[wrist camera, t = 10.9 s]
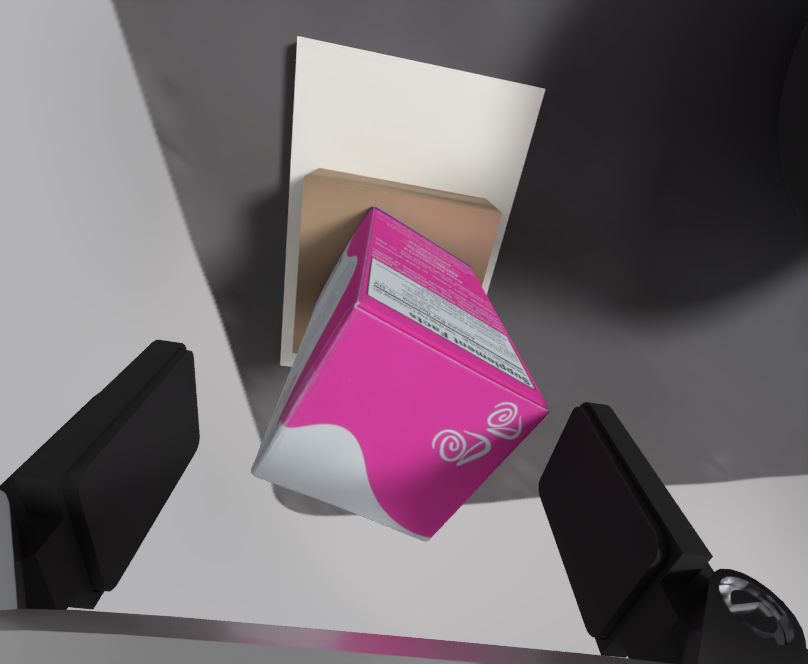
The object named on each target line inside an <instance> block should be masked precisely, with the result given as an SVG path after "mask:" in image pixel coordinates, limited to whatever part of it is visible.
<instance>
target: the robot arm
mask: <svg viewBox="0 0 808 664" xmlns="http://www.w3.org/2000/svg"><path fill="white" fill-rule="evenodd" d="M195 382H196V381H195V368H194V356H193V353H192V351H188V350H186V347H185V345H184V344H183V343H177V342H170V341H163V340H156V341H154V342H152V343H151V344H150V345H149V346H148V347H147V348H146V349H145V350H144V351H143V352H142V353H141V354H140V355H139V356H138V357H137V358H136V359H134V361H132V362H131V363H130V364H129V365H128V366H127V367H126V368H125V369H124V370H123V371H122V372H121V373H120V374H119V375H118V376H117V377H116V378H115V379H114V380H113V381H112V382H110V383H109V384H108V385H107V386H106V387H105V388H104V389H103V390H102V391H101V392H100V393H98V394H97V395H95V396H94V397H93V398H92V399H91V400H90V401H89V402H88V403H87V404H86V405H85V406H84V407H82V408H81V409H80V411H78V412H77V413H76V414H75V415H74V416H73V417H72V418H71V419H70V420H69V421H68V422H67V423H66V424H65V425H63V426H62V427H61V428H60V429H59V430H58V431H57V432H56V433H55V434H54V435H53V436H52V437H51V438H50V439H49V440H48V441H47V442H46V443H45V444H43V445H42V446H41V447H40V448H39V449H38V450H37V451H36V452H35V453H34V454H33V455H32V456H31V457H30V458H29V459H28V460H27V461H26V462H25V463H23V465H21V466H20V467H19V468H18V469H17V470H16V471H15V472H14V473H13V474H12V475H11V476H10V477H9V478H8V479H7V480H6V481H5V482H3V483H2V485H0V664H808V649H806V642H805V637H804V634H803V630H802V628H801V626H800V625H799V623H798V621H797V619H796V617H795V616H794V614H793V613H792V612H791V611H790V610H789V608H788V607H787V606H786V605H785V604H784V602H783V601H782V600H780V599H779V598H778V597H777V596H776V595H775V594H774V593H773V592H772V591H771V590H769V589H768V588H767V587H765V586H764V585H762V584H761V583H759V582H758V581H757V580H755V579H753V578H751V577H749V576H747V575H745V574H743V573H741V572H738V571H734V570H731V569H719V570H717V571H715V572H714V571H713V569H712V568H711V566H710V565H709V564H708V561H710V559H711V558H712V557H713V556H712V555H711V553H710V552H709V550H708V549H707V548H706V546H705V544H704V543H703V542H702V540H701V539H700V537H699V536H698V534H697V533H696V531H695V530H694V528H693V527H692V525H691V524H690V522H689V521H688V520H687V518H686V517H685V515H684V514H683V512H682V511H681V509H680V508H679V506H678V505H677V504H676V502H675V501H674V499H673V498H672V496H671V495H670V493H669V492H668V490H667V489H666V487H665V486H664V484H663V483H662V482H661V480H660V479H659V477H658V476H657V474H656V473H655V471H654V470H653V468H652V467H651V465H650V464H649V462H648V461H647V460H646V458H645V457H644V455H643V454H642V452H641V451H640V449H639V448H638V446H637V445H636V443H635V442H634V441H633V439H632V438H631V436H630V435H629V433H628V432H627V430H626V429H625V427H624V426H623V424H622V423H621V422H620V420H619V419H618V417H617V416H616V414H615V413H614V411H613V410H612V409H611V408H610V406H607V405H602V404H595V403H589V402H585V403H583V404H581V405H580V407H575V408H574V409H573V411H572V413H571V415H570V417H569V419H568V422H567V424H566V426H565V428H564V430H563V432H562V434H561V436H560V438H559V441H558V443H557V445H556V447H555V449H554V451H553V453H552V455H551V457H550V460H549V462H548V464H547V466H546V468H545V470H544V472H543V474H542V476H541V479H540V481H539V495H540V498H541V501H542V504H543V507H544V510H545V512H546V515H547V518H548V521H549V524H550V527H551V529H552V532H553V535H554V538H555V541H556V544H557V547H558V549H559V552H560V555H561V558H562V561H563V564H564V567H565V570H566V573H567V575H568V578H569V581H570V584H571V587H572V590H573V592H574V595H575V598H576V601H577V604H578V607H579V610H580V612H581V616H582V618H583V621H584V624H585V627H586V629H587V632H588V633H589V634H590V635H591V636H592V637H595V639H596V642H597V645H598V648H599V651H600V653H601V655H603V656H601V655H591V654H581V653H570V652H560V651H549V650H539V649H529V648H518V647H507V646H498V645H488V644H477V643H466V642H455V641H444V640H434V639H423V638H412V637H400V636H390V635H377V634H368V633H356V632H345V631H334V630H323V629H312V628H300V627H288V626H276V625H264V624H253V623H241V622H230V621H217V620H206V619H194V618H183V617H171V616H156V615H140V614H126V613H110V612H96V611H81V610H67V608H68V607H73V608H84V609H94V607H95V606H96V604H97V602H98V601H99V599H100V597H101V595H102V594H103V593H104V591H111V590H112V589H114V587H116V585H117V584H118V582H119V581H120V579H121V577H122V576H123V574H124V572H125V570H126V569H127V567H128V565H129V564H130V562H131V560H132V559H133V557H134V555H135V554H136V552H137V550H138V548H139V547H140V545H141V543H142V542H143V540H144V538H145V537H146V535H147V533H148V532H149V530H150V528H151V527H152V525H153V523H154V522H155V520H156V518H157V517H158V515H159V513H160V511H161V510H162V508H163V506H164V505H165V503H166V501H167V500H168V498H169V496H170V495H171V493H172V491H173V490H174V488H175V486H176V484H177V483H178V481H179V479H180V478H181V476H182V474H183V473H184V471H185V469H186V468H187V466H188V464H189V463H190V461H191V459H192V458H193V456H194V454H195V452H196V450H197V448H198V444H199V439H200V435H199V422H198V408H197V395H196V383H195ZM627 655H628V658H629V659H627V658H619V657H627ZM610 656H614V657H610Z"/></svg>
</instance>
